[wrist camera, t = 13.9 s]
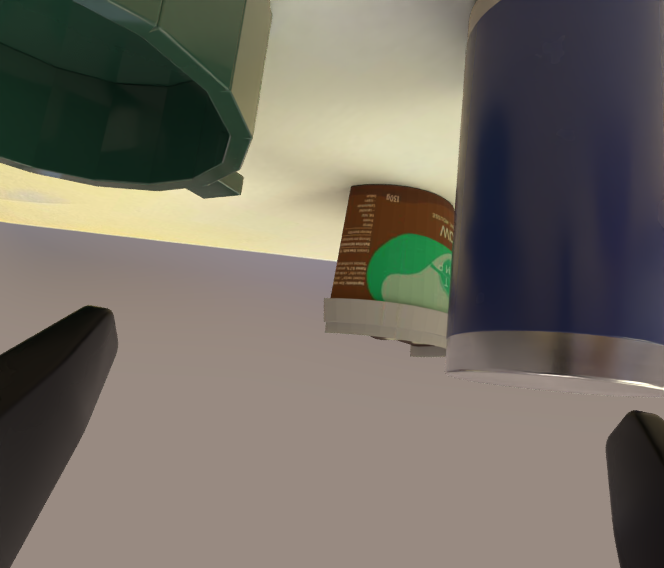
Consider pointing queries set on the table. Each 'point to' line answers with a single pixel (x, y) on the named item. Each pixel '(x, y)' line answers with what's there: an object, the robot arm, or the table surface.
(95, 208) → the table surface
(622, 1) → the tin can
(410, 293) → the food container
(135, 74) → the pot
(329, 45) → the table surface
